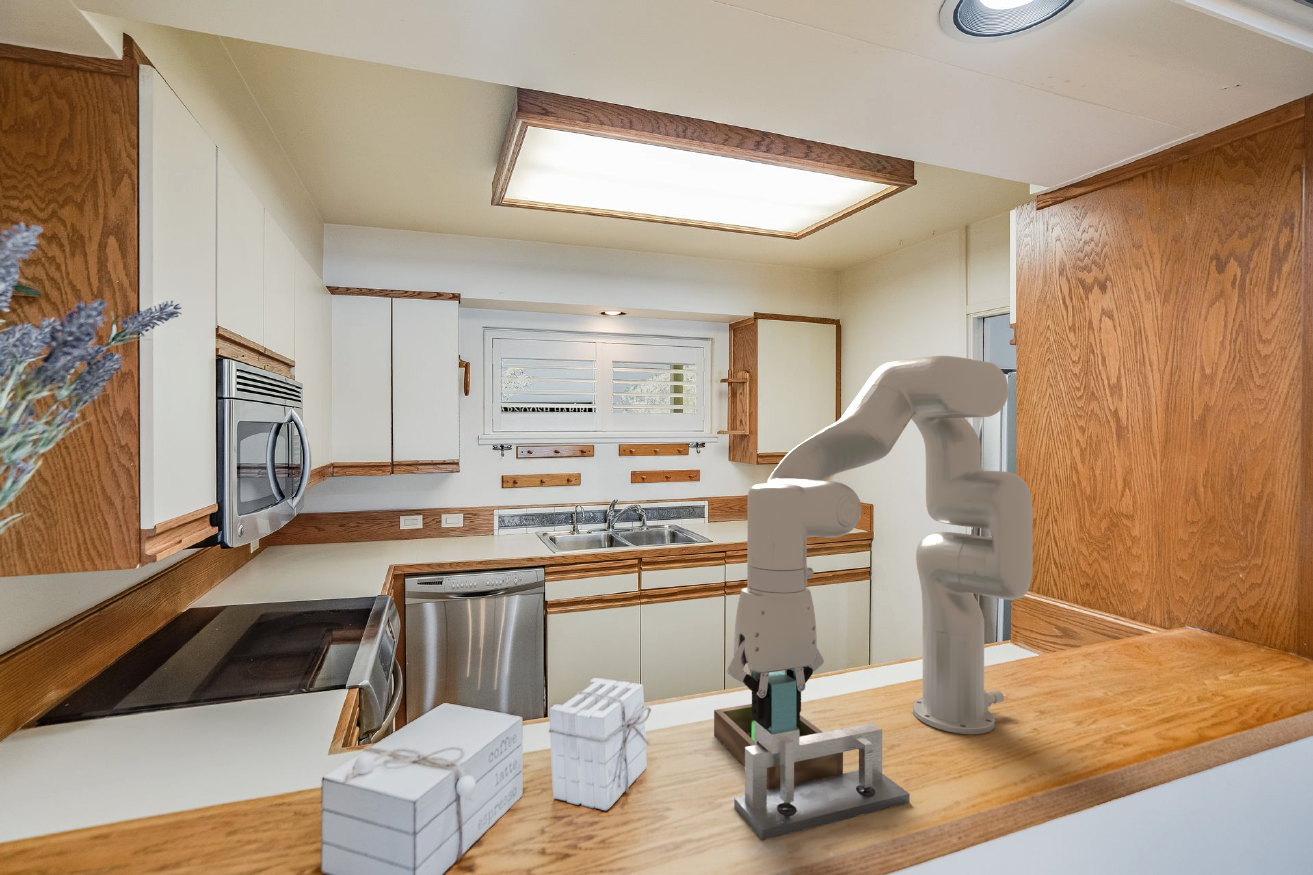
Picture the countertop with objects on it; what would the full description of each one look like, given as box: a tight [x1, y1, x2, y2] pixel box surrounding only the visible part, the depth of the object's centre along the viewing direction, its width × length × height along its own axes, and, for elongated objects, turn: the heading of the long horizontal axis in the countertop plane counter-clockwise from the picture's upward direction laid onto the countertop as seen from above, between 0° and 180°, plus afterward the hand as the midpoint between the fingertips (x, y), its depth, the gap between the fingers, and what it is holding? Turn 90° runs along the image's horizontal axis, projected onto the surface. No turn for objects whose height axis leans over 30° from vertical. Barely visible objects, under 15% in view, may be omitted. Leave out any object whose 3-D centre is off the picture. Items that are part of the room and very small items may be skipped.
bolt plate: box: [733, 769, 911, 841], centre depth 80 cm, size 22×7×1 cm, turn 110°
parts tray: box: [713, 703, 844, 790], centre depth 93 cm, size 12×17×4 cm
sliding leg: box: [754, 671, 799, 806], centre depth 78 cm, size 4×5×15 cm
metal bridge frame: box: [744, 722, 883, 809], centre depth 80 cm, size 20×4×8 cm, turn 110°
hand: (776, 720), depth 79 cm, fingers closed on sliding leg, 3 cm apart
